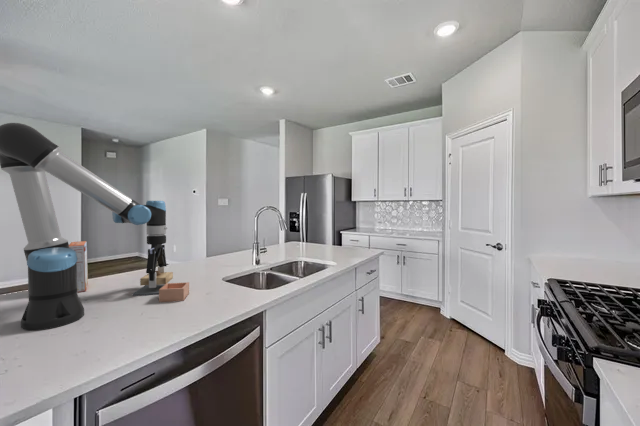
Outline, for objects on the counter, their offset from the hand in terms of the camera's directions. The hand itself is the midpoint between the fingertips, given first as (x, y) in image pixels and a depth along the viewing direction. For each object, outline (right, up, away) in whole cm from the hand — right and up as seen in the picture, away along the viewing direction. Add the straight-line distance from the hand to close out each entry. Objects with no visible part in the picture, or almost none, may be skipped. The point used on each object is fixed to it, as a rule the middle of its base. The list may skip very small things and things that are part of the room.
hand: (157, 284), depth 126 cm
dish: (+13, -3, -10) cm, 17 cm away
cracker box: (-36, -3, +1) cm, 36 cm away
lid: (0, +1, 0) cm, 1 cm away
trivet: (0, -3, 0) cm, 3 cm away
